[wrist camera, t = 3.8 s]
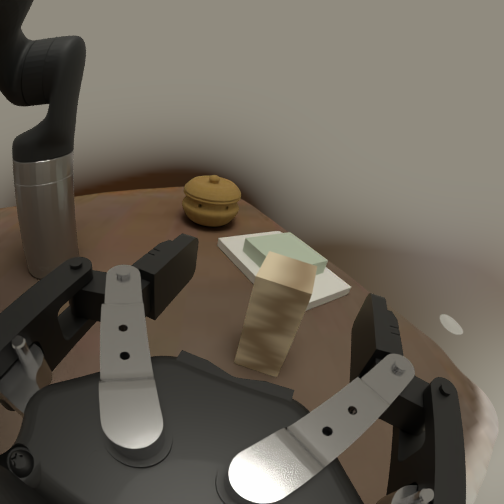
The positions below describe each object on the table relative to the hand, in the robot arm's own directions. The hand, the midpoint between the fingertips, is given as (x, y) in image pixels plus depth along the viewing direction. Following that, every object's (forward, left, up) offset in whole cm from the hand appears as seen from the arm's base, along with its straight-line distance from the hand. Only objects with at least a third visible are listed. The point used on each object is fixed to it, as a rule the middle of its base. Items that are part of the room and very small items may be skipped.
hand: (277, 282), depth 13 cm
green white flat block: (-22, +23, -18) cm, 37 cm away
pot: (-42, +19, -19) cm, 50 cm away
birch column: (-8, +9, -19) cm, 22 cm away
